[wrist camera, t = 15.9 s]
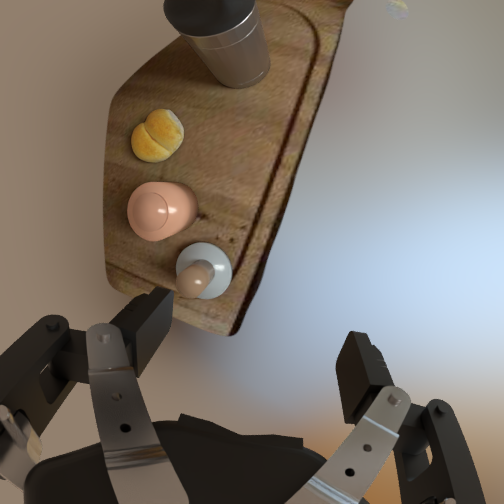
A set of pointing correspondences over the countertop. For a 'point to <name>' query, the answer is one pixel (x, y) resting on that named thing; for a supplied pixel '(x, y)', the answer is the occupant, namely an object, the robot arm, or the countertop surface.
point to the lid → (203, 271)
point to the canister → (161, 209)
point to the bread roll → (157, 136)
